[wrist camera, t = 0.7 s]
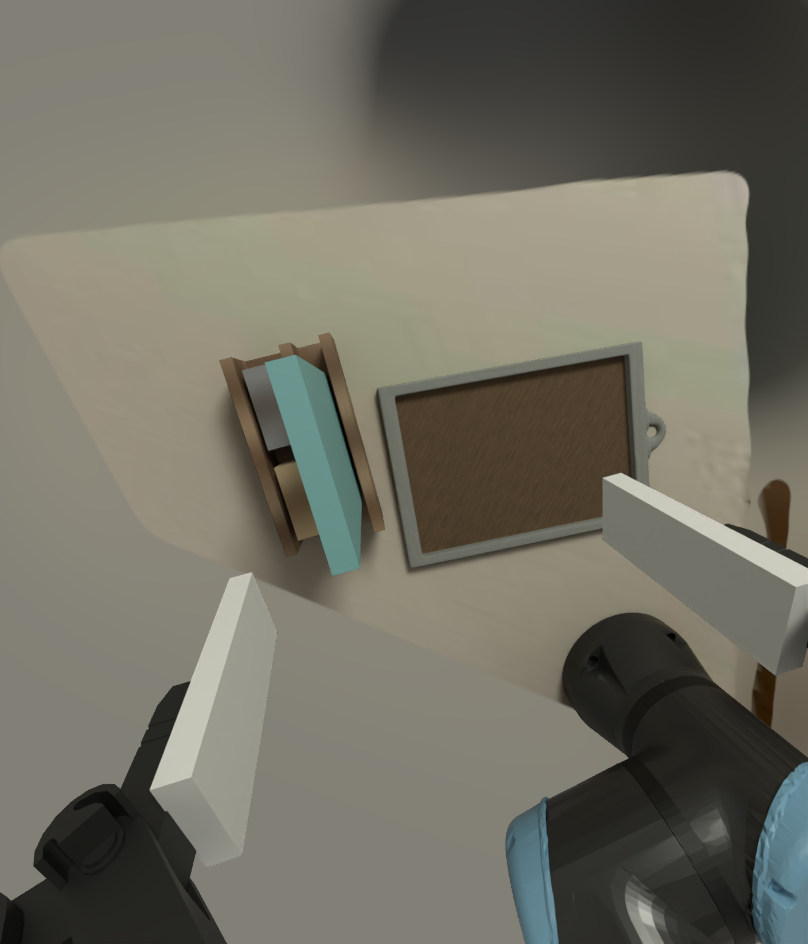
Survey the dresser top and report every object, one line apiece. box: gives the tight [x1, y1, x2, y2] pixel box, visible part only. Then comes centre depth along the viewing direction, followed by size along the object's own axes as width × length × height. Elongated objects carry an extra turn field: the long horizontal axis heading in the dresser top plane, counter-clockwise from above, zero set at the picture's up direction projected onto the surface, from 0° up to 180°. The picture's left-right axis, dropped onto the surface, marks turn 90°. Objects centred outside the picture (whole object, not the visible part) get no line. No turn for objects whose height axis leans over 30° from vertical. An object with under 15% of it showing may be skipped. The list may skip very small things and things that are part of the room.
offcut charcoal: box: [242, 365, 291, 451], centre depth 36 cm, size 7×3×4 cm, turn 15°
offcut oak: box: [274, 458, 319, 541], centre depth 37 cm, size 7×3×4 cm, turn 15°
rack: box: [219, 333, 385, 557], centre depth 37 cm, size 18×9×5 cm, turn 15°
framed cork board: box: [377, 342, 666, 568], centre depth 42 cm, size 19×2×30 cm
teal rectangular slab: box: [265, 355, 362, 576], centre depth 30 cm, size 12×2×18 cm, turn 15°
